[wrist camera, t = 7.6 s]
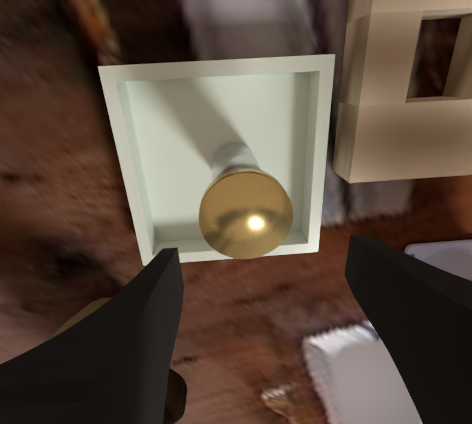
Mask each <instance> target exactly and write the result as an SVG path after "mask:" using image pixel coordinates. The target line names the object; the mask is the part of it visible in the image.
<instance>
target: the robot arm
mask: <svg viewBox="0 0 472 424" xmlns="http://www.w3.org/2000/svg"><path fill="white" fill-rule="evenodd" d="M410 254H411V255H410ZM345 277H346V279H347V282H348V284H349V286H350V289H351V291H352V293H353V295H354V297H355V298H356V300H357V302H358V303H359V305H360V307H361V308H362V310H363V311H364V313H365V315H366V316H367V318H368V319H369V321H370V322H371V324H372V325H373V327H374V329H375V330H376V332H377V333H378V335H379V336H380V338H381V340H382V341H383V343H384V345H385V346H386V348H387V349H388V351H389V353H390V355H391V357H392V359H393V361H394V363H395V365H396V367H397V369H398V371H399V373H400V375H401V377H402V379H403V381H404V383H405V385H406V387H407V389H408V392H409V394H410V396H411V398H412V400H413V402H414V404H415V406H416V409H417V411H418V413H419V416H420V418H421V420H422V423H423V424H472V239H471V240H458V241H445V242H433V243H420V244H410V245H408V246H407V247H406V248H405V251H404V252H402V251H400V250H398V249H396V248H394V247H392V246H390V245H388V244H386V243H384V242H382V241H380V240H377V239H375V238H373V237H371V236H368V235H366V234H361V235H350V241H349V248H348V255H347V262H346V269H345ZM183 291H184V285H183V279H182V273H181V266H180V260H179V253H178V247H176V248H163V249H162V250H161V251H160V252H159V253H158V254H157V255H156V256H155V257H154V258H153V259H152V260H151V261H150V262H149V263H148V264H147V265H146V267H145V268H144V269H143V270H142V271H141V272H140V273H139V274H138V275H137V276H136V277H135V278H134V279H132V280H131V281H130V282H129V283H128V284H127V285H126V286H125V287H124V288H123V289H122V290H121V291H119V292H118V293H117V294H116V295H115V296H114V297H112V298H111V299H110V300H109V301H107V302H106V303H105V304H103V305H102V306H101V307H99V308H98V309H97V310H95V311H94V312H93V313H91V314H90V315H88V316H86V317H85V318H83V319H82V320H80V321H79V322H77V323H76V324H74V325H73V326H71V327H70V328H68V329H67V330H65V331H63V332H62V333H60V334H58V335H56V336H55V337H53V338H51V339H50V340H48V341H46V342H44V343H42V344H40V345H39V346H37V347H35V348H33V349H31V350H29V351H27V352H25V353H23V354H21V355H19V356H17V357H15V358H13V359H11V360H9V361H7V362H5V363H3V364H0V424H163V418H164V409H165V399H166V391H167V382H168V374H169V368H170V362H171V357H172V352H173V348H174V343H175V339H176V334H177V330H178V325H179V320H180V316H181V311H182V303H183Z"/></svg>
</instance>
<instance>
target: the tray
mask: <svg viewBox="0 0 472 424" xmlns="http://www.w3.org/2000/svg"><path fill="white" fill-rule="evenodd" d="M334 64H335V54H326V55H306V56H287V57H268V58H249V59H230V60H210V61H191V62H172V63H153V64H134V65H114V66H98V70H99V74H100V79H101V83H102V87H103V92H104V96H105V101H106V105H107V109H108V114H109V118H110V122H111V127H112V131H113V136H114V140H115V144H116V149H117V153H118V157H119V162H120V166H121V170H122V175H123V179H124V184H125V188H126V192H127V197H128V201H129V205H130V210H131V214H132V218H133V223H134V227H135V232H136V236H137V240H138V245H139V249H140V253H141V258H142V262H143V265H147V264H148V263H149V262H150V261H151V260H152V259H153V258H154V257H155V256H156V255H157V254H158V253H159V252H160V251H161V250H162V249H163V248H176V247H178V253H179V260H180V263H182V262H194V261H207V260H220V259H233V258H231V257H228V256H225V255H223V254H221V253H219V252H217V251H216V250H214V249H213V248H212V247H211V246H210V245H209V244H208V243H207V242H206V240H205V239H204V237H203V235H202V233H201V230H200V227H199V209H200V202H201V199H202V196H203V194H204V192H205V190H206V189H207V187H208V186H209V185H210V183H211V182H212V171H213V158H214V155H215V153H216V152H217V150H218V149H219V148H220V147H222V146H223V145H225V144H228V143H232V142H237V143H241V144H244V145H245V146H247V147H248V148H249V149H250V150H251V151H252V153H253V155H254V156H255V158H256V160H257V162H258V164H259V166H260V168H261V170H262V171H264V172H266V173H268V174H270V175H271V176H273V177H274V178H275V179H276V180H278V182H279V183H280V184H281V185H282V187H283V188H284V190H285V191H286V193H287V194H288V196H289V198H290V200H291V203H292V207H293V222H292V226H291V229H290V231H289V233H288V235H287V237H286V238H285V239H284V241H283V242H282V243H281V244H280V245H279V246H278V247H277V248H275V249H274V250H273V251H271V252H269V253H267V254H265V255H263V256H271V255H284V254H297V253H309V252H318V247H319V236H320V224H321V213H322V201H323V190H324V178H325V167H326V155H327V144H328V132H329V121H330V110H331V98H332V87H333V75H334Z"/></svg>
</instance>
